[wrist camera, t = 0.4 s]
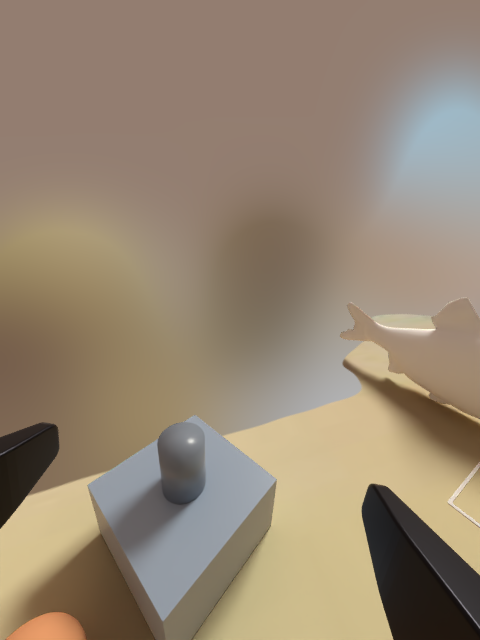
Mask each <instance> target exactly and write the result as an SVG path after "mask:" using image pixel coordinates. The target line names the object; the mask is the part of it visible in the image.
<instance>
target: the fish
mask: <svg viewBox="0 0 480 640" xmlns="http://www.w3.org/2000/svg"><path fill="white" fill-rule="evenodd" d="M347 307H348V310H349V312H350V314H351V316H352V317H353V319H354V320H355V325H354V329H353V330H351V329H348V330H347V331H346V332H341V334H340V337H341V338H343V339H347V340H360V341H372V342H374V343H376V344H378V345H379V346H381V347H382V348H384V349H385V350H386V351H388V357H389V367H388V370H389V371H390V372H394V373H398V374H402V373H404V374H405V375H406V376H407V377H408V378H409V379H411V380H412V381H413V382H415V383H416V384H418V385H419V386H421V387H422V388H424V389H426V390H427V391H429V392H430V394H429V397H430V399H431V400H434V401H436V402H439V403H443V404H448V405H452V406H453V407H455V408H457V409H459V410H460V411H462V412H464V413H466V414H469V415H471V416H474V417H476V418H478V419H480V318H479V317H478V315H477V313H476V311H475V309H474V308H473V306H472V304H471V302H470V300H469V298H460V299H457V300H455V301H452V302H449V303H448V304H447V305H446V306H445V307H444V308H443V309H442V310H441V311H440V312H439V313H438V314H437V315H436V316H433V317H431V319H432V322H433V324H434V325H435V327H436V329H409V328H391V327H386V326H382V325H380V324H378V323H376V322H375V321H374V320H373V319H372V318H370V317H369V316H368V315H367V314H366V313H364V312H363V311H362V310H361V309H359V308H358V307H357V306H356V305H354V304H353V303H351V302H349V304H348V305H347Z"/></svg>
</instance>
